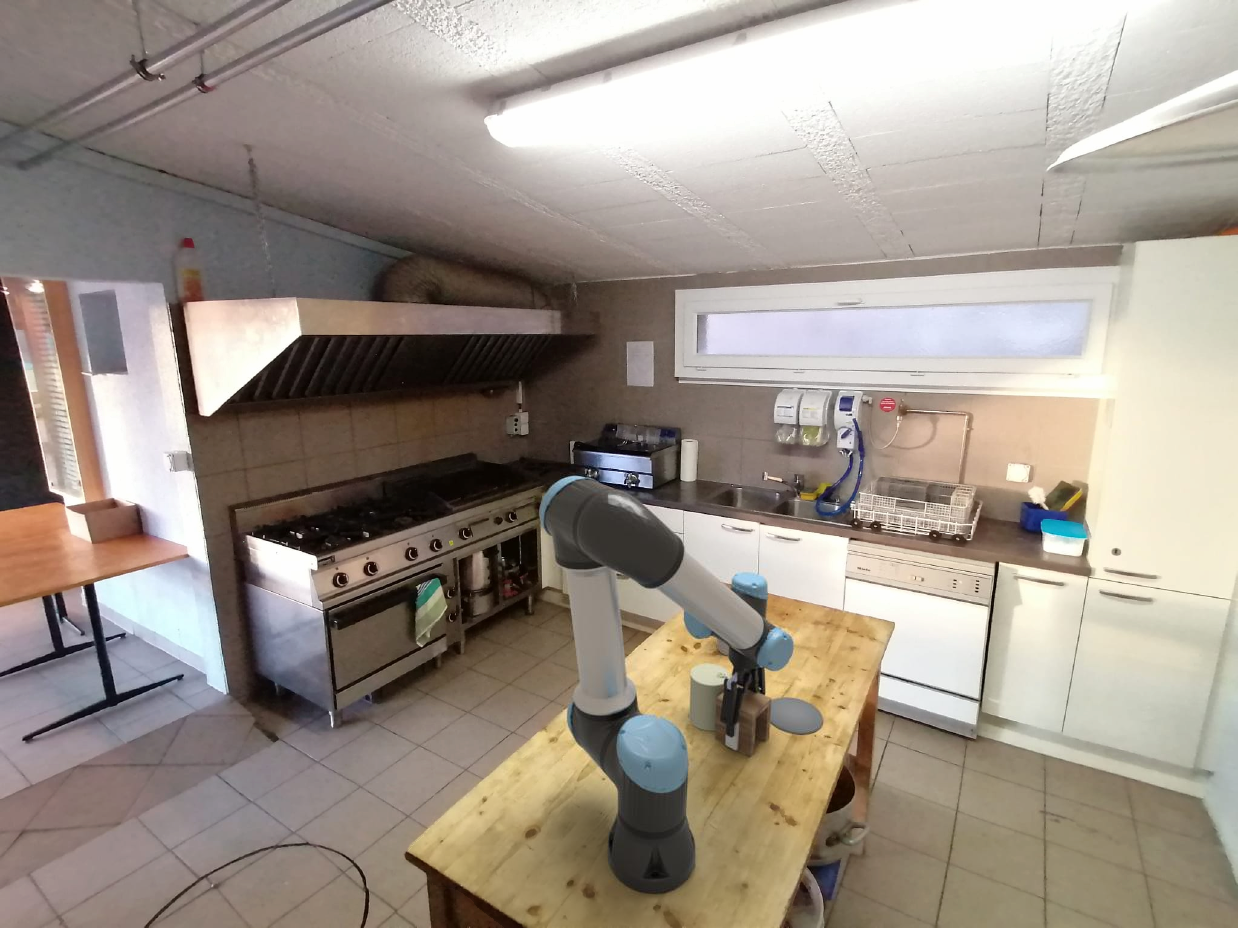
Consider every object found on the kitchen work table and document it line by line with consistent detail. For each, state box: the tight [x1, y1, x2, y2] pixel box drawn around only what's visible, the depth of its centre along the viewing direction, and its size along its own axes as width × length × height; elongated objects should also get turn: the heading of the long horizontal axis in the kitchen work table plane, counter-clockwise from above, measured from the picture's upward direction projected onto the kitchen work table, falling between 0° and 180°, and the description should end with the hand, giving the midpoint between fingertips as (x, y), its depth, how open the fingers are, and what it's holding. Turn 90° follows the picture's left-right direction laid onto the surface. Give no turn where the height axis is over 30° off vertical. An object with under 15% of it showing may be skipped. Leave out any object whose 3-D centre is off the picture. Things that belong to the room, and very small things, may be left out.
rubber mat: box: [770, 696, 824, 735], centre depth 139 cm, size 13×13×1 cm
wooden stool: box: [714, 685, 772, 757], centre depth 131 cm, size 8×9×10 cm
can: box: [688, 663, 731, 732], centre depth 137 cm, size 9×9×12 cm
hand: (742, 736), depth 132 cm, fingers closed on wooden stool, 8 cm apart
